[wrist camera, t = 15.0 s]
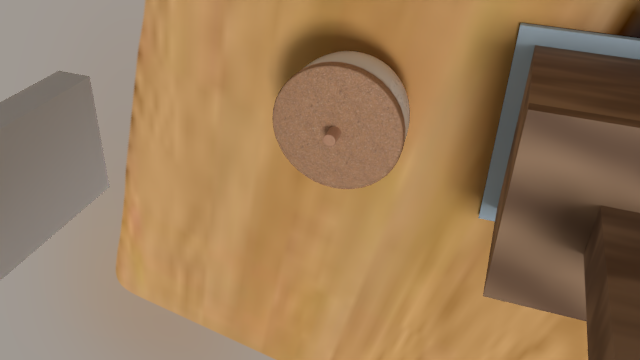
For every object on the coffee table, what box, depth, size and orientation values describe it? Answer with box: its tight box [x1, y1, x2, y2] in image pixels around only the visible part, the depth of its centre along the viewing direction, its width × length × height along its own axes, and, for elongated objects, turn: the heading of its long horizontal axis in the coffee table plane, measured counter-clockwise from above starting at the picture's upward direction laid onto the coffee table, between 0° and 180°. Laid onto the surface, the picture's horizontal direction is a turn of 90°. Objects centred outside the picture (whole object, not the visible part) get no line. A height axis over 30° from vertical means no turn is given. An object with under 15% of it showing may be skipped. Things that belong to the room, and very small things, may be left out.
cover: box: [483, 45, 640, 360], centre depth 38 cm, size 15×15×26 cm
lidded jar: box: [273, 51, 410, 189], centre depth 50 cm, size 11×11×9 cm
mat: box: [479, 23, 640, 221], centre depth 49 cm, size 18×18×1 cm
